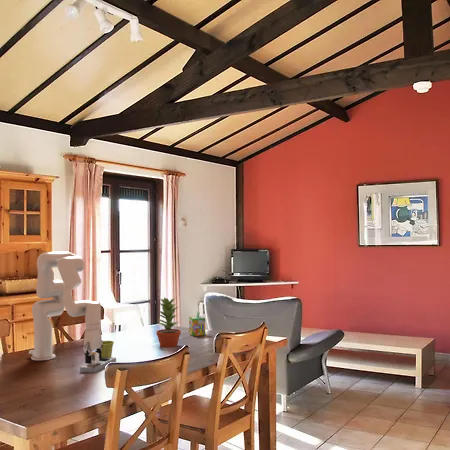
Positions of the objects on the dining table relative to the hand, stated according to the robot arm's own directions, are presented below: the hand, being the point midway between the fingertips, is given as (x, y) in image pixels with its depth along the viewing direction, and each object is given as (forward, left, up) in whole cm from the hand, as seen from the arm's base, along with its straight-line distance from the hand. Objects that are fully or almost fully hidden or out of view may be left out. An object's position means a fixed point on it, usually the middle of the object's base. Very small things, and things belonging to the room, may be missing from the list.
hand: (93, 361), depth 259 cm
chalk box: (+22, +96, -5) cm, 99 cm away
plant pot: (-6, +23, -4) cm, 24 cm away
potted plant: (+16, +60, -4) cm, 62 cm away
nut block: (0, 0, -4) cm, 4 cm away
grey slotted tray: (0, +5, -4) cm, 7 cm away
